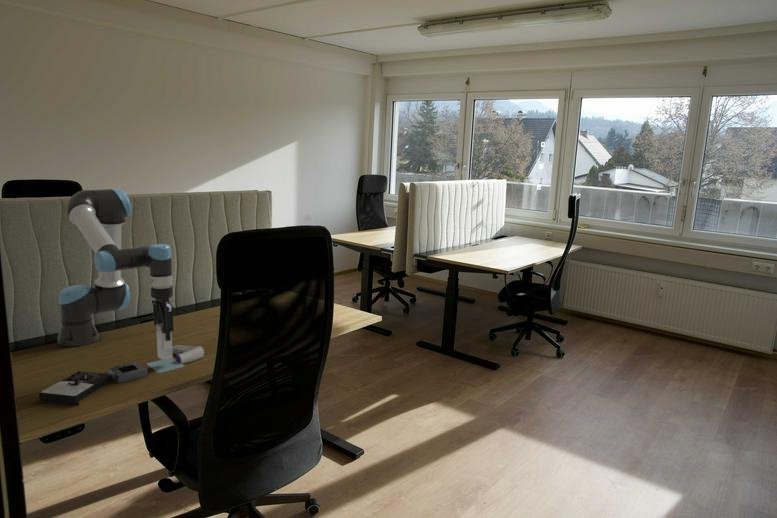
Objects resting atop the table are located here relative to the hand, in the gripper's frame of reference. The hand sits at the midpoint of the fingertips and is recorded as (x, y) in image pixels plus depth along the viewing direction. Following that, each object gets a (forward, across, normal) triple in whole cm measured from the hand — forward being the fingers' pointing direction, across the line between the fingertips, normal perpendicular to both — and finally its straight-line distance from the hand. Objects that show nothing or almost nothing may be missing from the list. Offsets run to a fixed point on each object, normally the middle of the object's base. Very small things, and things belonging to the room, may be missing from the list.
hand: (164, 346), depth 211 cm
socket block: (+8, +1, -14) cm, 16 cm away
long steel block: (+4, 0, 0) cm, 4 cm away
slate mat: (+8, 0, 0) cm, 8 cm away
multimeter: (+9, +2, -31) cm, 32 cm away
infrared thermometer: (+9, -6, +9) cm, 14 cm away
